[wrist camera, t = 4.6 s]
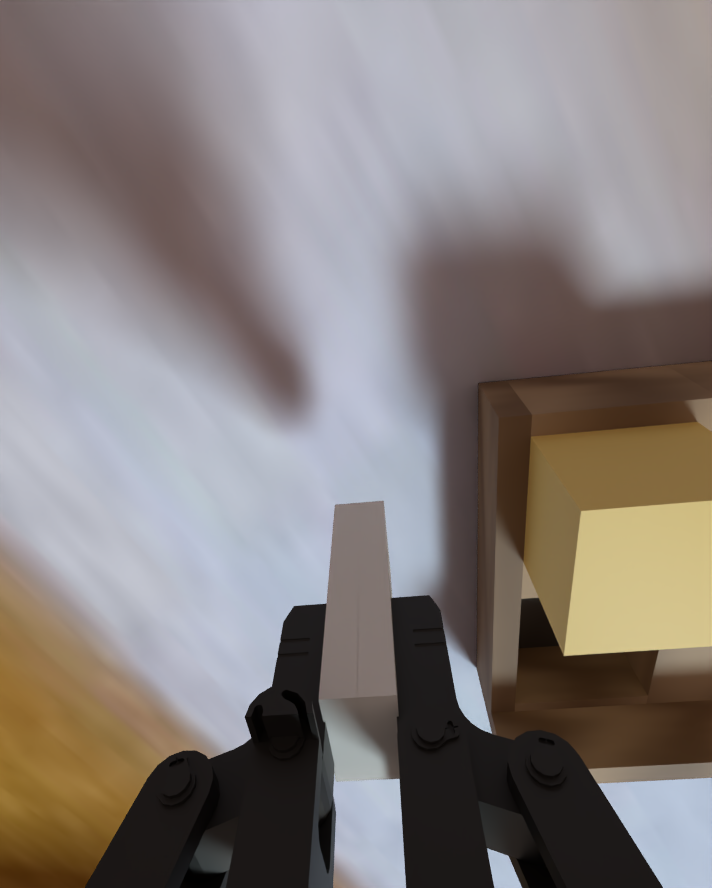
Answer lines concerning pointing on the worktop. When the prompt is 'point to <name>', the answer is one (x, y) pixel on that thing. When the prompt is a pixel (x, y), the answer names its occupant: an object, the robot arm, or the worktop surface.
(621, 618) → the block
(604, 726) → the box
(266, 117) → the worktop surface
